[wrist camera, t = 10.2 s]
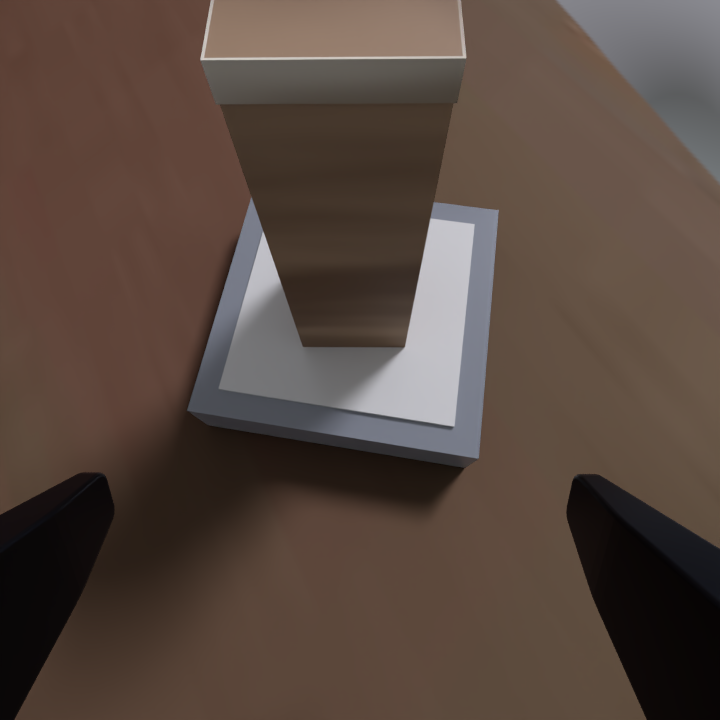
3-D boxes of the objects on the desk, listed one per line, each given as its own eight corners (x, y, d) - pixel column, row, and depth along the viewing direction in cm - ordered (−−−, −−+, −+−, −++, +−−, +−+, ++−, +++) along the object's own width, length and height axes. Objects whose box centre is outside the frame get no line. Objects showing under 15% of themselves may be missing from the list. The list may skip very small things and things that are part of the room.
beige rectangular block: (406, 348, 18) (466, 58, 7) (301, 348, 19) (200, 60, 7) (403, 258, 20) (450, -102, 9) (306, 258, 20) (228, -99, 9)
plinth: (465, 467, 19) (479, 458, 17) (207, 425, 20) (185, 409, 18) (485, 243, 23) (499, 208, 21) (267, 214, 24) (256, 177, 22)
